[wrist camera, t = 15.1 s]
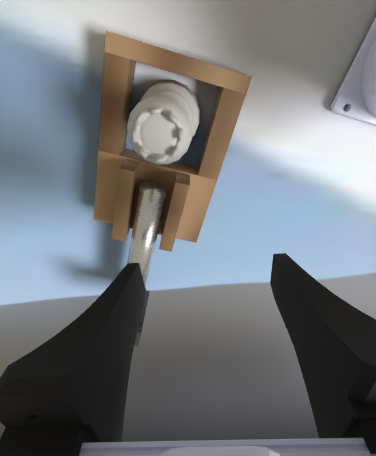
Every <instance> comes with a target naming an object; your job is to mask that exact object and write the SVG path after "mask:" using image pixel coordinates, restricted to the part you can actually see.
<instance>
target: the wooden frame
mask: <svg viewBox="0 0 376 456" xmlns="http://www.w3.org/2000/svg"><path fill="white" fill-rule="evenodd" d="M136 61H137V62H141V63H144V64H147V65H151V66H154V67H157V68H160V69H164V70H167V71H170V72H174V73H177V74H180V75H184V76H187V77H190V78H194V79H197V80H200V81H204V82H207V83H210V84H213V85H217V86H220V90H219V93H218V97H217V101H216V104H215V108H214V111H213V115H212V118H211V122H210V125H209V129H208V132H207V136H206V139H205V143H204V146H203V150H202V153H201V157H200V161H199V164H198V167H194V166H190V165H186V164H183V163H179V162H172V163H170V164H159V165H156V164H154V163H151V162H148V161H146V160H144V159H143V158H142V157H141V156H139V155H138V154H137V153H136V152H135V151H132V150H128V149H125V147H126V139H127V124H128V120H129V114H130V106H131V97H132V89H133V81H134V72H135V64H136ZM251 77H252V76H248V75H245V74H242V73H239V72H235V71H232V70H229V69H226V68H223V67H219V66H216V65H213V64H210V63H207V62H203V61H200V60H197V59H194V58H191V57H187V56H184V55H181V54H178V53H175V52H171V51H168V50H165V49H162V48H159V47H155V46H152V45H149V44H146V43H143V42H139V41H136V40H133V39H130V38H127V37H123V36H120V35H117V34H114V33H111V32H107V31H106V36H105V51H104V67H103V83H102V98H101V114H100V129H99V145H98V161H97V176H96V192H95V208H94V220H97V221H101V222H106V223H110V224H113V229H112V238H111V239H115V240H119V241H125V238H126V236H127V234H128V231H129V229H130V228H133V225H134V219H135V213H136V207H137V201H138V194H139V188H140V184H141V183H143V182H154V183H158V184H161V185H163V186H164V187H166V188H167V195H166V199H165V203H164V208H163V212H162V217H161V221H160V225H159V230H158V234H160V235H162V237H161V243H160V248H159V249H161V250H166V251H171V252H172V248H173V244H174V241H175V238H178V239H182V240H187V241H191V242H196V241H197V238H198V235H199V232H200V229H201V226H202V223H203V220H204V217H205V214H206V211H207V208H208V205H209V202H210V199H211V196H212V193H213V190H214V187H215V185H216V182H217V179H218V176H219V173H220V170H221V167H222V164H223V161H224V158H225V155H226V152H227V149H228V146H229V143H230V140H231V137H232V134H233V131H234V128H235V125H236V122H237V119H238V116H239V113H240V110H241V107H242V104H243V101H244V98H245V95H246V92H247V89H248V86H249V83H250V80H251Z"/></svg>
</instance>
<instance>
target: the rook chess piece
mask: <svg viewBox="0 0 376 456" xmlns="http://www.w3.org/2000/svg"><path fill="white" fill-rule="evenodd" d="M199 122H200V107H199V104H198V102H197V99H196V96H195V95H194V94H193V93H192V91H191V90H190V89H189V88H188V87H187V86H186V85H184V84H182V83H179V82H177V81H175V80H165V81H160V82H158V83H156V84H154V85H152V86H150V88H149V89H148V90H147V91H146V93H145V94H144V95H143V97H142V98H141V101H140V102H139V103H138V104H137V105H136V106H135V108H134V109H133V110H132V112H131V113H130V116H129V120H128V124H127V131H128V138H129V141H130V143H131V145H132V147H133V149H134V150H135V152H136V153H137V154H138V155H139V156H141V157H142V158H143V159H144V160H146V161H148V162H151V163H154V164H156V165H159V164H170V163H172V162H175V161H177V160H179V159H180V158H181V157H182V156H183V155H184V154H185V153H186V152H187V150H188V148H189V145H190V142H191V140H192V137H193V136H194V135H195V133H196V130H197V128H198V125H199Z"/></svg>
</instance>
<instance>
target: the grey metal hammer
mask: <svg viewBox="0 0 376 456" xmlns="http://www.w3.org/2000/svg"><path fill="white" fill-rule="evenodd" d="M166 195H167V188H166V187H164V186H163V185H161V184H158V183H154V182H143V183H141V184H140V188H139V194H138V201H137V207H136V213H135V219H134V225H133V231H132V237H131V243H130V249H129V255H128V261H127V264H128V263H139V265H140V269H141V273H142V277H143V281H144V285H145V286H146V282H147V278H148V273H149V269H150V265H151V260H152V256H153V251H154V247H155V243H156V238H157V234H158V230H159V225H160V221H161V217H162V212H163V208H164V203H165V199H166ZM148 296H149V291H146V292H145V301H144V308H143V312H142V316H141V320H140V324H139V328H138V332H137V336H136V340H135V344H134V346H138V343H139V339H140V335H141V331H142V326H143V321H144V316H145V310H146V306H147V301H148Z"/></svg>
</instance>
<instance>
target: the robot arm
mask: <svg viewBox="0 0 376 456" xmlns="http://www.w3.org/2000/svg"><path fill="white" fill-rule="evenodd" d="M346 104H348V108H347V109H346V110H345V111H344V110H343V108H344V106H345V105H346ZM331 110H332V111H333V112H334V113H337V114H340V115H344V116H347V117H350V118H353V119H357V120H360V121H363V122H366V123H370V124H373V125H376V18H375V20H374V21H373V23H372V25H371V27H370V29H369V31H368V33H367V35H366V37H365V39H364V41H363V43H362V45H361V47H360V49H359V51H358V53H357V55H356V57H355V59H354V61H353V63H352V65H351V67H350V69H349V71H348V73H347V75H346V77H345V79H344V81H343V83H342V85H341V87H340V89H339V91H338V93H337V95H336V97H335V99H334V100H333V102H332V105H331ZM270 283H271V287H272V291H273V295H274V298H275V301H276V304H277V306H278V309H279V311H280V314H281V316H282V318H283V321H284V323H285V325H286V328H287V330H288V333H289V335H290V337H291V340H292V343H293V345H294V348H295V351H296V354H297V358H298V361H299V364H300V367H301V371H302V375H303V378H304V381H305V385H306V388H307V392H308V396H309V400H310V404H311V408H312V411H313V415H314V419H315V423H316V427H317V432H318V435H319V439H268V440H212V441H154V442H122V432H123V421H124V411H125V403H126V394H127V386H128V379H129V371H130V365H131V358H132V353H133V348H134V344H135V340H136V336H137V332H138V328H139V324H140V320H141V316H142V312H143V308H144V301H145V292H146V289H145V285H144V281H143V277H142V273H141V269H140V265H139V263H128V264H127V265H126V266H125V267H124V269H123V270H122V271H121V272H120V273H119V275H118V276H117V277H116V278H115V280H114V281H113V282H112V283H111V284H110V285H109V287H108V288H107V289H106V290H105V291H104V292H103V293H102V295H101V296H100V297H99V298H98V299H97V300H96V301H95V302H94V303H93V304H92V305H91V306H90V307H89V308H88V309H87V310H86V311H85V312H84V313H82V314H81V315H80V316H79V317H78V318H77V319H76V320H74V321H73V322H72V323H71V324H70V325H68V326H67V327H66V328H64V329H63V330H62V331H61V332H59V333H58V334H57V335H55V336H54V337H53V338H51V339H50V340H48V341H47V342H45V343H44V344H42V345H41V346H39V347H38V348H36V349H35V350H33V351H32V352H30V353H28V354H27V355H25V356H23V357H22V358H20V359H18V360H17V361H15V362H13V363H12V364H10V365H8V367H7V368H6V370H5V371H4V373H3V374H2V376H1V378H0V422H1V423H2V424H3V425H4V426H5V427H6V429H5V430H4V432H3V434H2V437H0V456H376V320H375V319H374V318H372V317H370V316H368V315H366V314H365V313H363V312H361V311H359V310H357V309H356V308H354V307H353V306H351V305H350V304H348V303H347V302H345V301H344V300H342V299H341V298H339V297H338V296H336V295H335V294H333V293H332V292H330V291H329V290H328V289H327V288H325V287H324V286H323V285H321V284H320V283H319V282H317V281H316V280H315V279H314V278H313V277H311V276H310V275H309V274H308V273H307V272H306V271H304V270H303V269H302V268H301V267H300V266H299V265H298V264H297V263H296V262H294V261H293V260H292V259H291V258H290V257H289V256H288V255H287V254H286V253H283V254H273V263H272V272H271V281H270Z"/></svg>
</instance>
